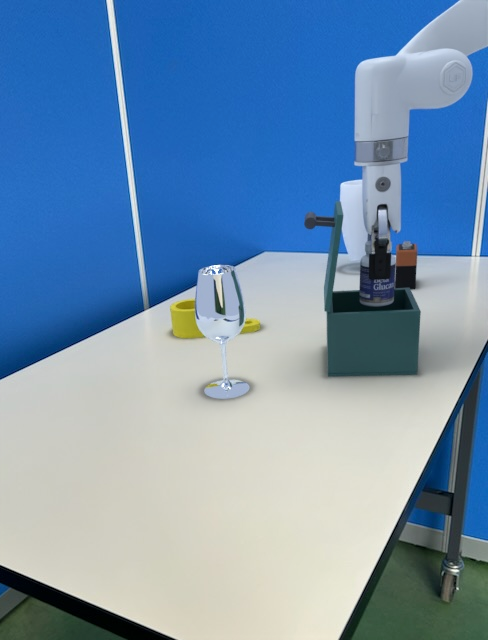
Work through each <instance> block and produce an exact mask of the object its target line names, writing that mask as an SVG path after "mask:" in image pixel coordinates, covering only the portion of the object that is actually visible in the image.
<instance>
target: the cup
mask: <svg viewBox="0 0 488 640" xmlns="http://www.w3.org/2000/svg"><path fill="white" fill-rule="evenodd" d="M339 188H340V189H339V191H340V192H339V201H341V206H342V211H343V223H342V230H341V234H342V238H343V243H344V245H345V248H346V252H347V254H348V257H349V259H350V261H353V262H360V261H361V258H362V257H363V256H365V255H366V252H365V243H366V242H367V241H368V233H367V232H366V229H365V226H364V218H363V202H362V179H355V180H354V179H353V180H348V181H343V182H342V183H340V185H339Z"/></svg>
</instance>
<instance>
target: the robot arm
mask: <svg viewBox="0 0 488 640" xmlns="http://www.w3.org/2000/svg"><path fill="white" fill-rule="evenodd" d="M487 47H488V0H458V1H457V2H455V3H454V4H453V5H452V6H450V7H449V8H448V9H446V10H444V11H443V12H441V14H440V15H437V16H436V17H435V18H434V19H433V20H432V21H430V22H429V23H428V24H426V25H425V26H424V27H423V28H421V30H420V31H418V32H417V33H416V34H415V35H414V36H413V37H412V38H411V39H410V40H409V41H408V42H407V43H406V44H405V45H404V46H403V47H402V48H401V49H400V50H399V51H398V52H397V54H395V55H390V56H389V55H388V56H382V57H375V58H369V59H368V58H367V59H365V60H363V61H360V63H359V64H358V65H357V67H356V69H355V72H354V73H355V74H354V149H353V150H354V151H353V152H354V162H353V165H354V166H357V167H362V170H361V171H362V174H361V176H362V177H361V180H362V202H363V218H364V226H365V229H366V232H367V233H368V241H370V240H371V254H369V279H370V280H381V279H389V278H390V276H391V254H392V251H391V252H390V241H391V235H392V234H391V230H392V231H393V232H394V233H395V234H399V233H400V232H401V230H402V170H401V169H402V168H401V164H402V163H406V162H408V157H409V156H408V154H409V153H408V152H409V134H410V132H409V130H410V111H411V110H434V109H436V110H437V109H442V108H447V107H450V106H451V105H453V104H455V103H456V102H458V101H460V100H461V99H462V97H464V96H465V94H466V93H467V92H468V90H469V89H470V86H471V84H472V82H473V75H474V74H473V65H472V63H471V61H470V59H469V58H468V56H470V55H472V54H473V53H476V52H478V51H480V50H483V49H486V48H487ZM375 240H376V241H375ZM366 254H367V253H366Z"/></svg>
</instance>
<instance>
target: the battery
mask: <svg viewBox="0 0 488 640" xmlns="http://www.w3.org/2000/svg"><path fill="white" fill-rule="evenodd" d="M395 250H396V252H395V255H396V256H395V259H396V267H395V288H410V289H411V290H416V286H417V285H416V284H417V269H418V268H417V267H418V245H417V243H411V241H410V240H404V241H403V242H402V243H398V244H397V245H396V248H395Z"/></svg>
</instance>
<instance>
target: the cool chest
mask: <svg viewBox="0 0 488 640" xmlns="http://www.w3.org/2000/svg"><path fill="white" fill-rule="evenodd" d="M359 293H360V289H352V290H349V289H348V290H333V294H332V301H331V309H330V312H326V362H327V363H326V364H327V367H326V368H327V377H329V378H331V377H335V378H336V377H376V376H380V377H381V376H382V377H383V376H417V375H418V365H419V363H418V362H419V349H420V329H421V313H422V312H421V309H420V306H419V305H418V302H417V300H416V298H415V296H414V294H413V292H412V289H410V288H394V301H393V303H391V304H389V305H386V306H381V307H372V306H366V305H363V304H361V303H360V300H359Z"/></svg>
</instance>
